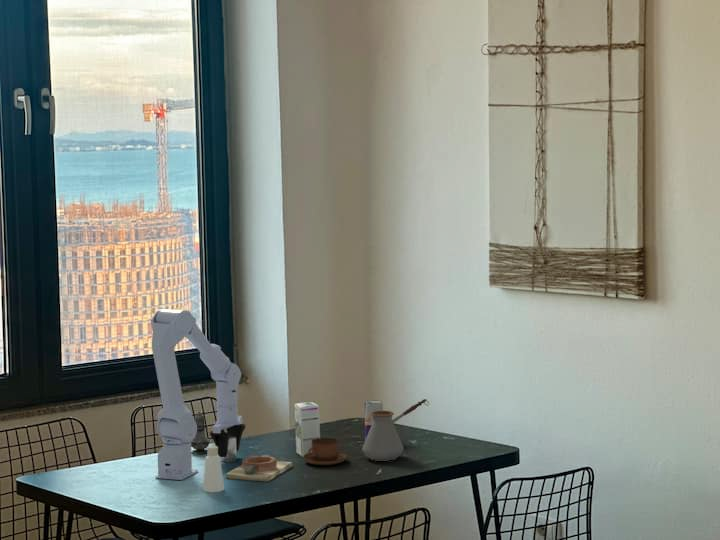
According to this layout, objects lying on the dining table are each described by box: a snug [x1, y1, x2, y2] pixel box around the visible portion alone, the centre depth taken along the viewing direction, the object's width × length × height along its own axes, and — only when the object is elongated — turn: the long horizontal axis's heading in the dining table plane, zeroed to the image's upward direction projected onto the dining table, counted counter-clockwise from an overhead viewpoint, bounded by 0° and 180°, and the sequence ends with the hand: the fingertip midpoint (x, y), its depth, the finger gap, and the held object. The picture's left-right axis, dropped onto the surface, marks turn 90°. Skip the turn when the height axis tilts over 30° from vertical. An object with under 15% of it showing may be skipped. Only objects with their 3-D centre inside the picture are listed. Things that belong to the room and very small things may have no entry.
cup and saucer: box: [303, 437, 348, 466], centre depth 312 cm, size 12×12×6 cm
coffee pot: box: [362, 398, 430, 461], centre depth 317 cm, size 21×12×15 cm, turn 123°
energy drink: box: [364, 399, 384, 441], centre depth 335 cm, size 5×5×12 cm
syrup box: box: [294, 401, 321, 458], centre depth 320 cm, size 6×6×14 cm
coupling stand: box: [225, 454, 293, 482], centre depth 302 cm, size 16×12×3 cm
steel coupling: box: [220, 435, 238, 463], centre depth 316 cm, size 4×4×7 cm
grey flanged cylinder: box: [191, 411, 211, 456], centre depth 325 cm, size 6×6×12 cm
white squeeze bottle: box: [202, 445, 225, 494], centre depth 285 cm, size 5×5×11 cm
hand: (228, 453), depth 316 cm, fingers open, 7 cm apart
